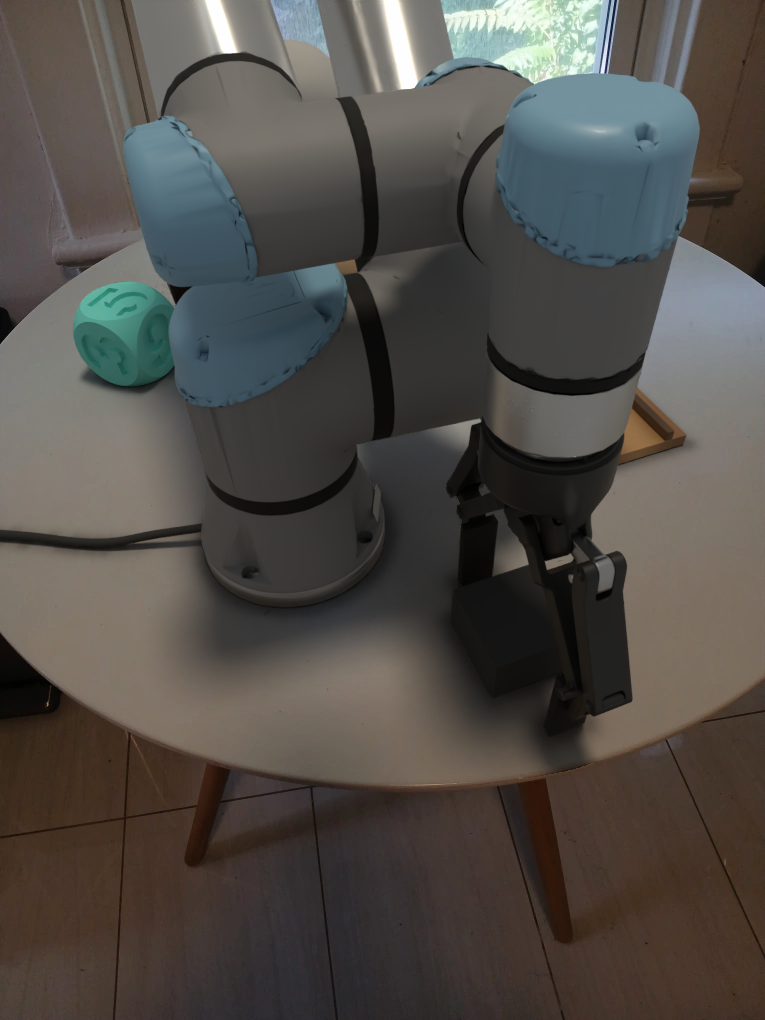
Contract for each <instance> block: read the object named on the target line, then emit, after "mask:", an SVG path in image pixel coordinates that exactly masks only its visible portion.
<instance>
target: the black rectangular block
mask: <svg viewBox="0 0 765 1020" xmlns="http://www.w3.org/2000/svg"><path fill="white" fill-rule="evenodd" d="M451 593H452V594H451V608H450V609H451V610H450V612H451V613H450V614H451V615H450V624H451V625H452V627H453V629H454V630H455V632H456V634H457V636H458V638H459V640H460V642H461V643H462V645H463V647H464V649H465V652H466V653H467V655H468V657H469V659H470V660H471V662H472V664H473V666H474V667H475V669H476V671H477V673H478V675H479V677H480V679H481V680H482V682H483V685H484V686H485V687H486V689H487V691H488V693H489V695H490V697H491V698H492V699H494V698H497V697H500V696H502V695H505V694H508V693H510V692H514V691H515V690H518V689H519V690H520V689H521V688H524V687H527V686H530V685H532V684H535V683H538V682H540V681H542V680H545V679H547V678H550V677H553V676H557V675H559V674H562V673H564V672H563V668H562V664H561V660H560V656H559V652H558V648H557V644H556V640H555V636H554V632H553V627H552V623H551V619H550V615H549V611H548V607H547V603H546V599H545V595H544V591H543V588H542V587H541V586H539V585H536V584H535V583H534V582H533V580H532V576H531V572H530V568H529V564H526V565H523V566H520V567H517V568H514V569H510V570H508V571H505V572H502V573H499V574H496V575H492V577H490V578H487V579H484V580H481V581H478V582H475V583H472V584H469V585H466V586H463V587H461V586H459V587H456V588H453V589H452V591H451Z"/></svg>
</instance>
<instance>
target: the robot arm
mask: <svg viewBox="0 0 765 1020" xmlns="http://www.w3.org/2000/svg"><path fill="white" fill-rule="evenodd" d="M130 2H131V6H132V10H133V11H132V12H133V15H134V19H135V23H136V24H135V25H136V27H137V32H138V36H139V41H140V46H141V51H142V54H143V59H144V62H145V67H146V72H147V76H148V80H149V85H150V88H151V93H152V98H153V102H154V106H155V110H156V114H157V115H156V116H157V118H156V119H155V121H151V122H147V123H143V124H139V125H135V126H133V127H130V128H129V129H128V130H127V131H126V132H125V134H124V138H123V141H122V153H123V160H124V165H125V169H126V174H127V180H128V184H129V187H130V191H131V196H132V199H133V203H134V207H135V212H136V215H137V218H138V223H139V227H140V230H141V234H142V237H143V240H144V244H145V248H146V251H147V254H148V256H149V260H150V262H151V264H152V267H153V269H154V272H156V274H157V276H158V277H159V278H161V280H162V281H164V282H165V283H166V282H167V283H168V284H171V285H173V286H177V287H189V286H193V287H191V288H190V289H189V290H188V291H186V292H185V293H184V294H183V296H182V297H181V298H180V300H179V301H178V303H177V305H175V306H174V311H173V313H172V316H171V319H170V323H169V332H168V333H169V343H170V347H171V352H172V356H173V361H174V382H175V386H176V388H177V391H178V393H179V395H181V396H182V398H183V399H184V402H185V405H186V406H185V407H186V408H187V413H188V416H189V420H190V424H191V426H192V431H193V434H194V438H195V442H196V445H197V449H198V453H199V456H200V460H201V464H202V467H203V471H204V474H205V476H206V481H207V486H206V493H205V498H204V499H205V500H204V506H203V514H202V519H201V523H195V524H194V523H193V524H187V525H186V524H185V525H180V526H173V527H166V528H159V529H153V530H148V531H143V532H137V533H134V534H127V535H122V536H116V537H98V538H97V537H95V538H94V537H93V538H92V537H74V536H64V535H58V534H51V533H50V534H49V533H41V532H35V531H34V532H32V531H21V530H11V529H10V530H9V529H0V539H6V540H7V539H8V540H17V541H29V542H40V543H47V544H53V545H61V546H70V547H81V548H109V547H111V548H112V547H119V546H125V545H126V546H127V545H131V544H136V543H141V542H146V541H152V540H157V539H165V538H170V537H177V536H183V535H190V534H191V535H192V534H198V533H200V540H201V546H202V549H203V552H204V556H205V558H206V563H207V564H208V567H209V570H210V571H211V573H212V575H213V576H214V578H215V579H216V580H217V582H219V584H220V585H221V586H222V587H224V589H226V590H227V591H229V592H230V593H232V595H235V596H237V597H239V598H240V599H242V600H244V601H247V602H250V603H253V604H257V605H262V606H267V607H274V608H296V607H304V606H309V605H314V604H318V603H321V602H324V601H327V600H330V599H332V598H334V597H337V596H339V595H342V594H343V593H344V592H346V591H348V590H350V589H351V588H353V587H354V586H356V585H357V584H358V583H359V582H360V581H362V580H363V579H364V578H365V577H366V576H367V575H368V574H369V572H370V571H371V570H372V569H373V568H374V566H375V565H376V564H377V561H378V560H379V558H380V556H381V554H382V551H383V549H384V544H385V540H386V520H385V518H386V517H385V511H384V505H383V502H382V499H381V496H382V495H381V494H382V492H381V490H380V488H379V486H378V484H377V483H375V486H374V484H373V482H372V480H371V479H370V477H369V475H368V473H367V472H366V469H365V468H364V466H363V464H362V462H361V460H360V458H359V455H358V445H363V444H367V443H372V442H375V441H380V440H385V439H391V438H396V437H401V436H404V435H410V434H414V433H420V432H423V431H429V430H432V429H437V428H443V427H447V426H452V425H457V424H461V423H465V422H470V421H475V420H480V422H477V423H474V424H472V425H471V426H470V430H469V438H468V445H467V447H466V448H465V451H464V452H463V454H462V455H461V457H460V459H459V461H458V463H457V464H456V465H455V468H454V469H453V471H452V473H451V474H450V477H448V480H447V482H446V483H445V485H446V486H445V490H446V493H447V495H448V496H449V498H451V499H453V498H456V499H457V502H458V503H457V504H456V506H455V511H456V515H457V517H458V518H459V520H460V527H459V528H460V529H459V546H458V547H459V548H458V561H457V562H458V563H457V578H456V579H457V581H458V583H459V585H460V587H463V586H466V585H469V584H472V583H475V582H478V581H481V580H484V579H487V578H490V577H493V576H494V575H493V574H494V567H495V566H494V564H495V556H496V548H497V547H496V546H497V540H498V539H497V538H498V529H499V528H498V527H499V519H498V518H497V516H496V515H495V514H494V512H497V511H501V510H503V513H504V516H505V519H506V521H507V526H508V528H509V530H511V532H512V534H514V536H515V537H517V540H518V542H519V543H520V544H521V545H522V547H523V549H524V552H525V556H526V559H527V563H528V564H527V565H529V568H530V572H531V576H532V580H533V582H534V583H535V584H536V585H539V586H541V587H542V588H543V591H544V595H545V599H546V603H547V607H548V611H549V615H550V619H551V623H552V627H553V632H554V636H555V640H556V644H557V648H558V652H559V656H560V660H561V664H562V668H563V672H561V673H559V674H556V675H555V679H554V682H553V687H552V691H551V695H550V699H549V703H548V707H547V711H546V715H545V718H544V723H543V729H544V731H545V733H546V734H547V736H548V737H549V738H550V737H552V736H555V735H558V734H560V733H563V732H565V731H567V730H570V729H572V728H575V727H578V726H581V725H583V724H585V723H586V720H587V717H588V716H589V715H590V716H592V717H593V718H594V717H598V716H600V715H602V714H605V713H608V712H610V711H613V710H615V709H619V708H620V707H623V706H625V705H628V704H631V703H632V702H633V688H632V687H633V686H632V676H631V665H630V653H629V642H628V632H627V622H626V621H627V620H626V610H625V600H624V599H625V598H624V588H625V582H626V576H627V571H628V563H627V559H626V557H625V556H624V554H623V552H621V551H619V550H614V551H611V552H609V553H606V554H604V552H603V551H601V549H600V548H599V547H598V546H597V545H596V544H595V543H594V542H593V527H592V526H593V525H592V514H593V513H594V511H595V510H596V509H597V507H598V506H599V505H600V503H602V501H603V500H604V498H606V496H607V495H608V493H609V492H610V490H611V489H612V486H613V484H614V481H615V477H616V473H617V470H618V466H619V464H618V462H619V458H620V455H621V451H622V447H623V443H624V432H625V429H626V427H627V424H628V421H629V417H630V413H631V409H632V405H633V401H634V397H635V394H636V390H637V388H638V385H639V381H640V378H641V374H642V370H643V365H644V361H645V358H646V354H647V350H648V348H649V345H650V342H651V338H652V334H653V330H654V327H655V323H656V319H657V316H658V312H659V309H660V305H661V301H662V298H663V297H662V296H663V294H664V290H665V286H666V282H667V278H668V275H669V271H670V268H671V264H672V261H673V256H674V253H675V250H676V246H677V243H678V239H679V236H680V235H681V232H682V229H683V228H684V226H685V224H686V221H687V216H688V214H689V210H688V209H687V208H688V204H689V200H690V197H689V196H688V194H689V188H690V183H691V179H692V174H693V168H694V162H695V159H696V154H697V148H698V143H699V139H700V133H701V132H700V131H701V126H700V121H699V116H698V113H697V111H696V109H695V107H694V105H693V103H692V102H691V101H690V99H688V98H687V97H686V96H685V95H684V94H683V93H682V92H680V91H679V90H677V89H676V88H673V87H671V86H670V85H667V84H665V83H662V82H658V81H644V80H640V79H637V78H636V77H635V76H632V75H628V74H617V73H605V72H604V73H603V72H602V73H599V72H596V73H594V72H593V73H577V74H568V75H561V76H556V77H551V78H547V79H544V80H541V81H538V82H536V83H533V82H532V81H531V80H530V79H529V78H527V77H525V76H522V74H521V73H520V72H518V71H517V70H516V69H514V70H510V69H509V68H507V67H506V66H505V65H504V64H499V63H495V62H493V61H490V60H488V59H485V58H481V57H472V56H471V57H470V56H462V57H458V58H454V54H453V49H452V45H451V39H450V36H449V32H448V27H447V22H446V18H445V14H444V9H443V5H442V0H316V4H317V8H318V12H319V17H320V21H321V26H322V30H323V35H324V39H325V43H326V48H327V52H328V57H329V58H330V61H331V66H332V70H333V74H334V79H335V83H336V87H337V92H338V96H339V98H332V99H324V100H316V101H308V102H303V101H302V95H301V92H300V89H299V86H298V83H297V80H296V77H295V73H294V70H293V67H292V64H291V61H290V58H289V55H288V52H287V49H286V46H285V43H284V40H285V39H284V37H283V34H282V31H281V28H280V25H279V23H278V19H277V16H276V14H275V11H274V7H273V4H272V1H271V0H130ZM349 260H355V264H356V268H357V273H351V274H346V275H342V274H341V272H340V271H339V269H338V268H337V266H336V265H335V264H334V263H339V262H344V261H349ZM167 283H166V284H167ZM483 487H485V488H486V489H487V490H488V492H487V493H485V494H482V493H481V491H480V490H482V489H483ZM489 513H493V514H489ZM487 514H489V515H487ZM569 555H571V556H572V558H573V559H572V560H571V561H569V562H567V563H564V564H561V565H558V566H555V567H552V568H549V569H547V568H548V567H547V564H546V562H548V561H552V560H555V559H559V558H563V557H567V556H569Z"/></svg>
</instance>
